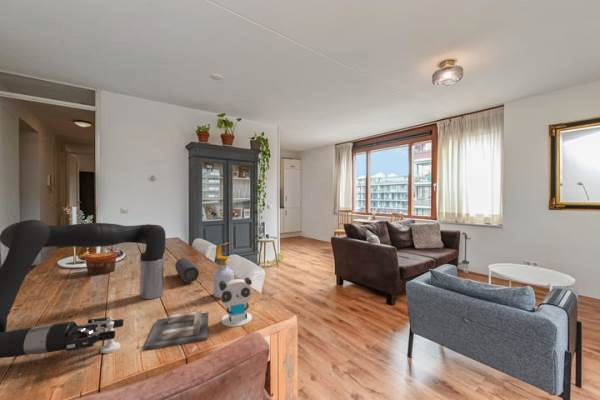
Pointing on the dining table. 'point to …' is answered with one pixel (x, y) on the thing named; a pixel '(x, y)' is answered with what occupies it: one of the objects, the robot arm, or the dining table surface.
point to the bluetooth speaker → (186, 270)
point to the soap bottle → (221, 272)
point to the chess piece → (110, 345)
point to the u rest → (178, 330)
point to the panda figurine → (236, 301)
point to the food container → (100, 263)
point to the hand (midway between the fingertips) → (118, 328)
